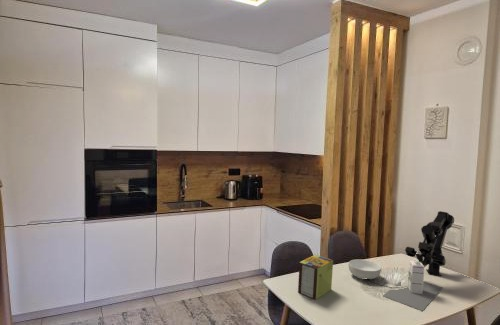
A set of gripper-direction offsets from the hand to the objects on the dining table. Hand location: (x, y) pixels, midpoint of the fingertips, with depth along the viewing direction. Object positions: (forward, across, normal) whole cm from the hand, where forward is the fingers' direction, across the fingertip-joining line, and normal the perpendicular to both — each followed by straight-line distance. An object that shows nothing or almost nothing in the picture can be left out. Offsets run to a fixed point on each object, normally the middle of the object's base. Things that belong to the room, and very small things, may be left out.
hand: (420, 269), depth 169 cm
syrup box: (+11, 0, +2) cm, 12 cm away
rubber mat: (+12, 0, +2) cm, 12 cm away
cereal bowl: (+14, -25, 0) cm, 29 cm away
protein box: (+39, -34, -25) cm, 58 cm away
